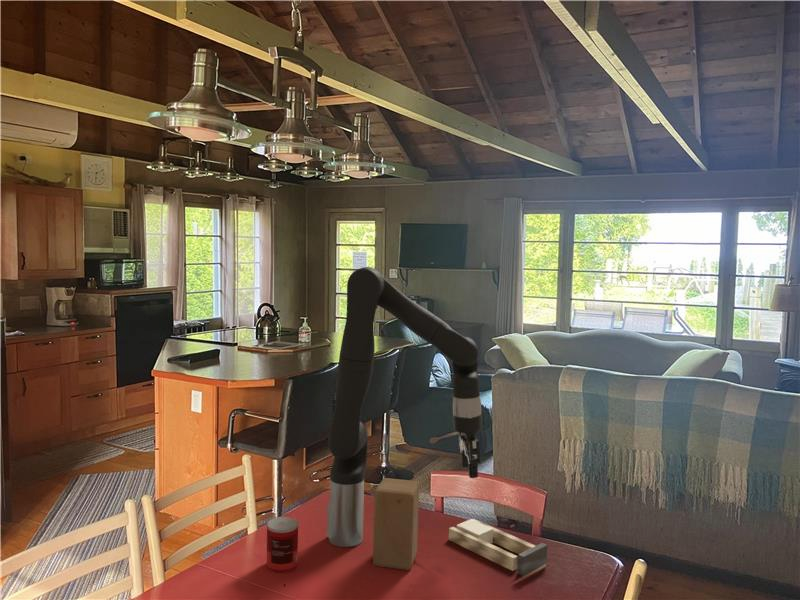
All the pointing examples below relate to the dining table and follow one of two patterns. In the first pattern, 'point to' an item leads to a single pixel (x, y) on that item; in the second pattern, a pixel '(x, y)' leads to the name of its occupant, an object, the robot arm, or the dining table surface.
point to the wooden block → (395, 523)
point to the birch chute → (528, 554)
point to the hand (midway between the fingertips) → (469, 472)
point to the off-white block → (477, 530)
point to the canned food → (282, 544)
